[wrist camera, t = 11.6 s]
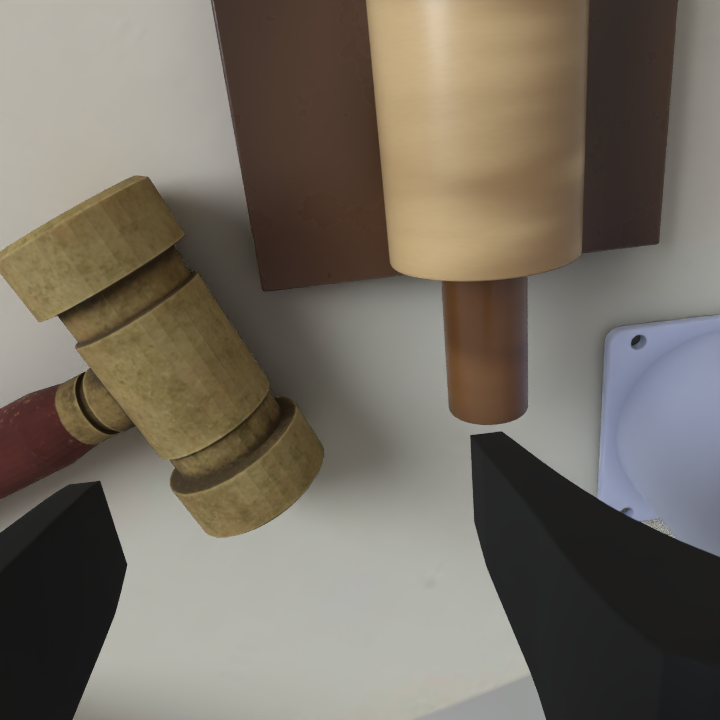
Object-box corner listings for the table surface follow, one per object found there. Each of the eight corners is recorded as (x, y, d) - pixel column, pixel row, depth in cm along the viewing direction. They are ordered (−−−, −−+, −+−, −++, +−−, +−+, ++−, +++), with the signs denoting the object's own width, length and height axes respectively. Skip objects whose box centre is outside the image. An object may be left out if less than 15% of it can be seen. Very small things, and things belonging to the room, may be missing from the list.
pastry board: (674, -358, 15) (711, -406, 13) (637, 234, 20) (659, 244, 19) (166, -299, 15) (149, -341, 13) (266, 279, 20) (262, 293, 19)
